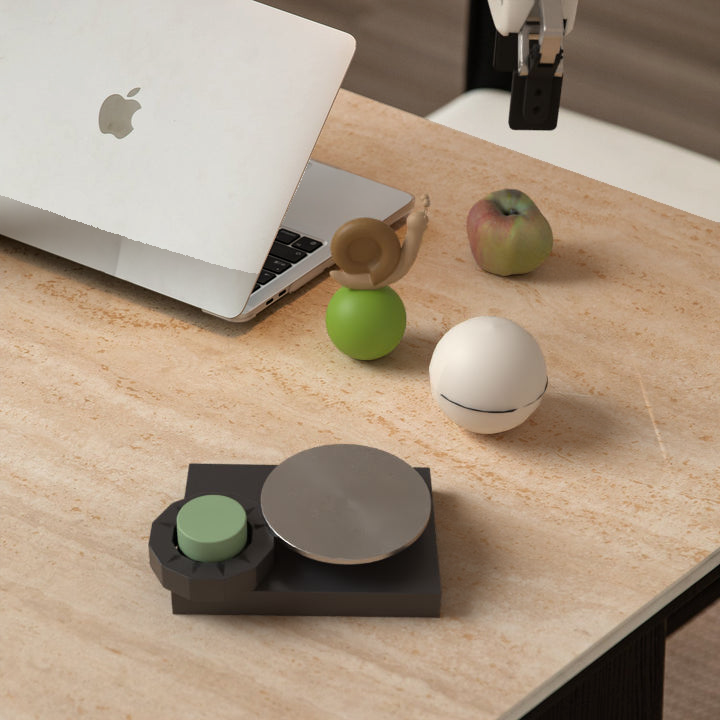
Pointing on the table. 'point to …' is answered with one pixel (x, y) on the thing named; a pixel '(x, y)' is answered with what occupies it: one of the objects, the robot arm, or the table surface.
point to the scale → (287, 564)
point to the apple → (508, 233)
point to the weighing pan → (345, 504)
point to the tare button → (212, 528)
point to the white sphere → (488, 374)
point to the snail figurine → (371, 284)
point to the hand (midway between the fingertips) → (523, 98)
